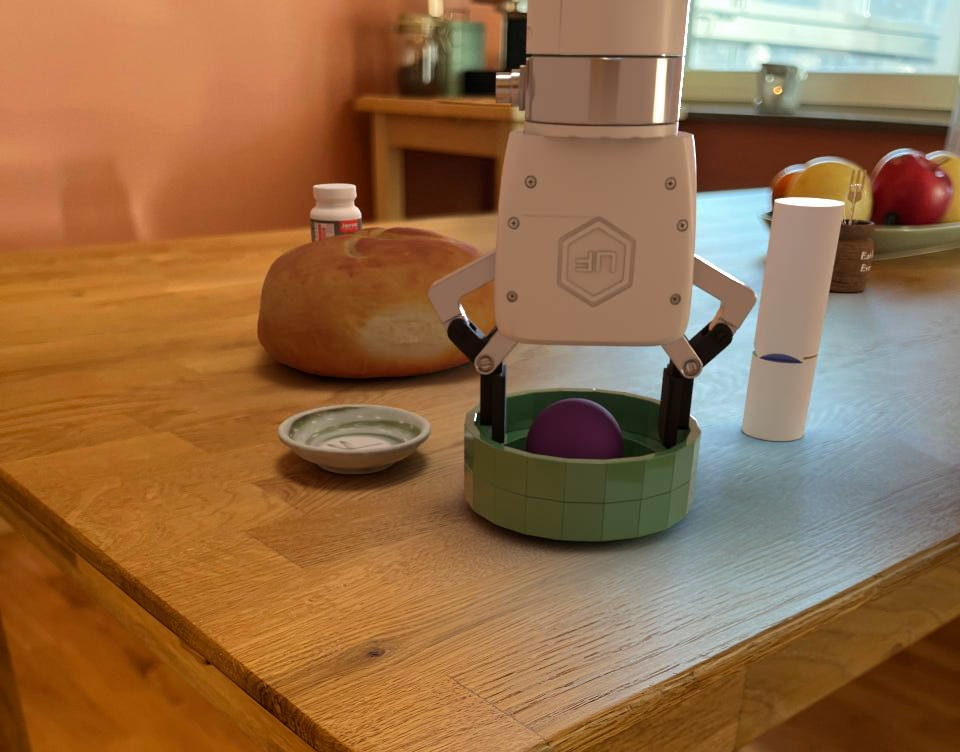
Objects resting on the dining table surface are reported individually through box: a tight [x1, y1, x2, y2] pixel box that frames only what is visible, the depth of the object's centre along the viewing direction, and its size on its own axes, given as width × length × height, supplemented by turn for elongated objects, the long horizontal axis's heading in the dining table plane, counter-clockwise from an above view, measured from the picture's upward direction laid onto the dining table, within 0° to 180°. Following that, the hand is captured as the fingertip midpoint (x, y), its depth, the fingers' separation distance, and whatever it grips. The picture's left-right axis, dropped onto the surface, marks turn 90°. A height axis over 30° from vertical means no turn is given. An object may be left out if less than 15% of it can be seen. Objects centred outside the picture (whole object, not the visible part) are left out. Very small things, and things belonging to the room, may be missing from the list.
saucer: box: [277, 403, 432, 475], centre depth 65 cm, size 10×10×2 cm
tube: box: [741, 197, 846, 442], centre depth 68 cm, size 4×4×15 cm
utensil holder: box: [829, 169, 875, 293], centre depth 113 cm, size 6×6×12 cm
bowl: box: [463, 387, 702, 543], centre depth 59 cm, size 13×13×5 cm
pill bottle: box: [309, 183, 363, 242], centre depth 114 cm, size 6×6×10 cm
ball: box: [526, 398, 623, 460], centre depth 58 cm, size 6×6×6 cm
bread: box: [256, 226, 496, 379], centre depth 86 cm, size 23×23×10 cm
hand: (582, 439), depth 58 cm, fingers open, 9 cm apart
